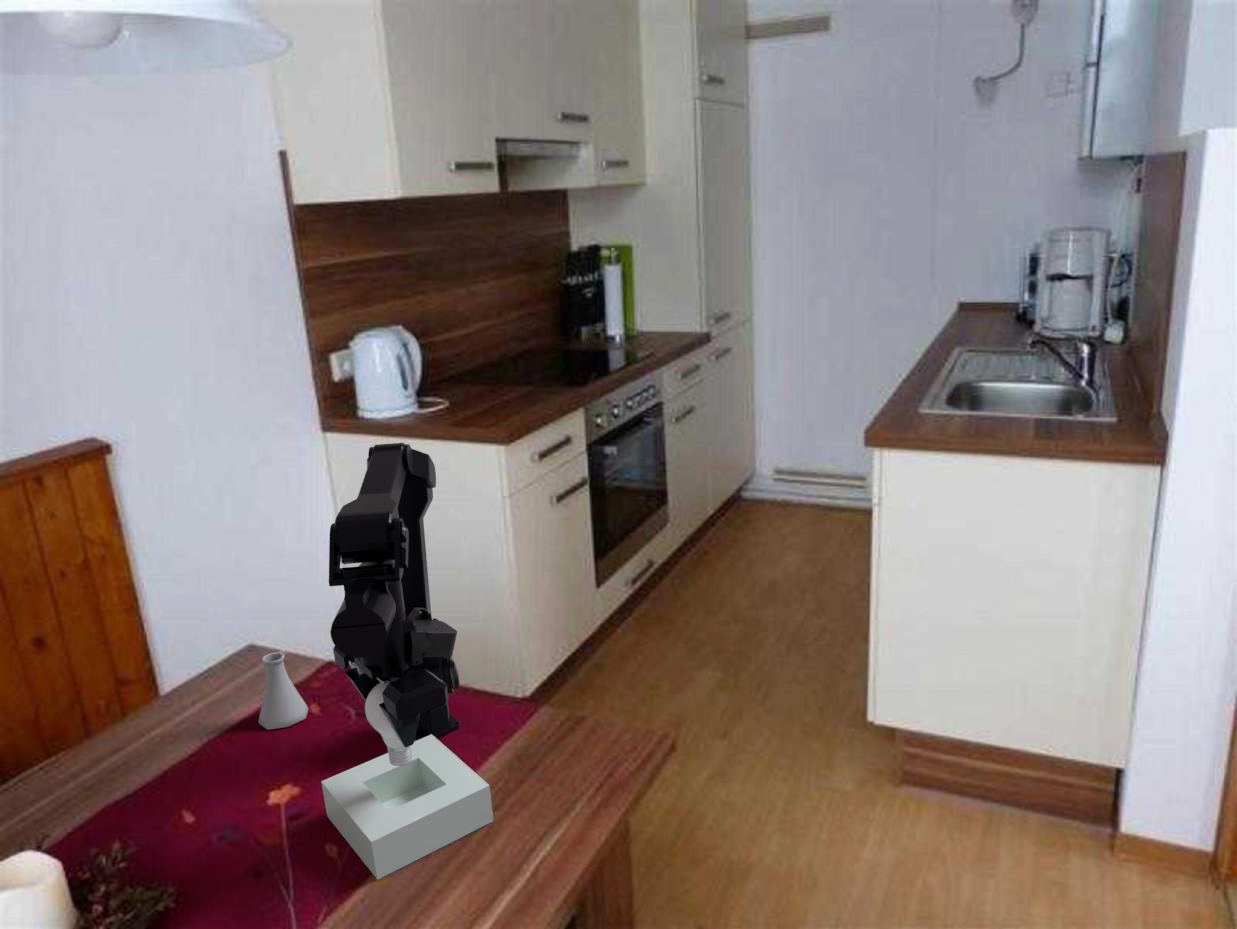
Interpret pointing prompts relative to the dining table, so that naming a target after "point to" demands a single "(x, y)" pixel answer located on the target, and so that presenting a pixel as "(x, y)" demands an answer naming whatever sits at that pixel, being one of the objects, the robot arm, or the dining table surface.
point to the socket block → (407, 805)
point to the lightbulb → (385, 727)
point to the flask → (280, 696)
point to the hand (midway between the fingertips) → (397, 734)
